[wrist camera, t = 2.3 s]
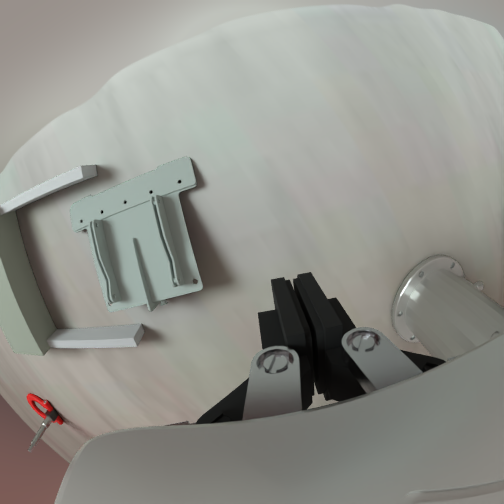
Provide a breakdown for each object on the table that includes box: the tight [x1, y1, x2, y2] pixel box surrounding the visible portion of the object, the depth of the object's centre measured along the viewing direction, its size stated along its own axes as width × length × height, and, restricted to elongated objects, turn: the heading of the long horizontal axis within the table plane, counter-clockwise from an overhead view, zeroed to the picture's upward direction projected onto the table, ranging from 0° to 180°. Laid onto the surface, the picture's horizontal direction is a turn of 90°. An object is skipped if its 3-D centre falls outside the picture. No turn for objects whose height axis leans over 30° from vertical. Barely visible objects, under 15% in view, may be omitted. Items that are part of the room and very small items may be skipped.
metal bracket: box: [70, 157, 203, 312], centre depth 26 cm, size 14×6×15 cm
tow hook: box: [27, 394, 63, 452], centre depth 31 cm, size 8×13×9 cm
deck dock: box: [0, 165, 145, 356], centre depth 25 cm, size 23×20×5 cm
